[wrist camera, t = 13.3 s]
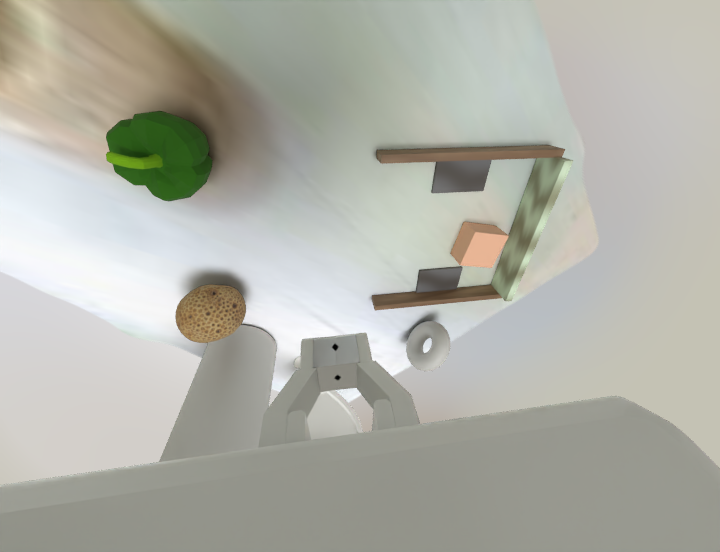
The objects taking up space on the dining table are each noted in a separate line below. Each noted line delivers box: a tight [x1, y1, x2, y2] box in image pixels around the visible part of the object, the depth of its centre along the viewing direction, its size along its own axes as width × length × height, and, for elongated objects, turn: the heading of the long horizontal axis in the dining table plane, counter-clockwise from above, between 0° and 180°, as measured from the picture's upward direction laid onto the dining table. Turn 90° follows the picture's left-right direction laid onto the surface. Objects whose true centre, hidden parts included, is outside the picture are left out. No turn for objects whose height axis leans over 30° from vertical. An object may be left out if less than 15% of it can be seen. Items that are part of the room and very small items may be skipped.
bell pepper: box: [106, 111, 212, 201], centre depth 28 cm, size 8×8×10 cm
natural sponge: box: [176, 284, 246, 343], centre depth 40 cm, size 9×9×10 cm
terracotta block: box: [450, 222, 509, 268], centre depth 44 cm, size 6×6×4 cm
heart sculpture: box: [294, 356, 363, 440], centre depth 53 cm, size 16×5×18 cm, turn 55°
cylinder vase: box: [159, 325, 277, 462], centre depth 42 cm, size 12×12×25 cm
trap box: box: [372, 145, 573, 310], centre depth 42 cm, size 26×25×5 cm
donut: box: [406, 321, 450, 371], centre depth 53 cm, size 10×3×10 cm, turn 142°
